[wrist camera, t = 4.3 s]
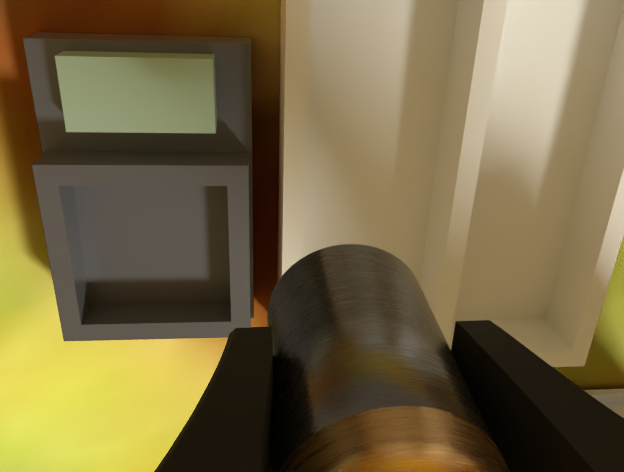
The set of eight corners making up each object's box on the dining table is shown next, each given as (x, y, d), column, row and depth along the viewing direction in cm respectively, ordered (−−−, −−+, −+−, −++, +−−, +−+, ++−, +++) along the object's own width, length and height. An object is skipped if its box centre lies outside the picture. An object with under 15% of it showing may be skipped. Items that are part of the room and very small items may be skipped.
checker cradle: (253, 299, 21) (253, 339, 19) (80, 302, 21) (60, 343, 19) (250, 37, 17) (250, 50, 15) (37, 31, 17) (5, 45, 15)
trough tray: (545, 316, 23) (584, 366, 20) (277, 321, 22) (280, 375, 19) (640, -63, 17) (712, -64, 14) (281, -78, 16) (287, -82, 13)
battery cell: (413, 375, 13) (580, 838, 6) (264, 377, 13) (273, 866, 6) (434, 243, 12) (678, 657, 5) (268, 241, 11) (283, 683, 5)
